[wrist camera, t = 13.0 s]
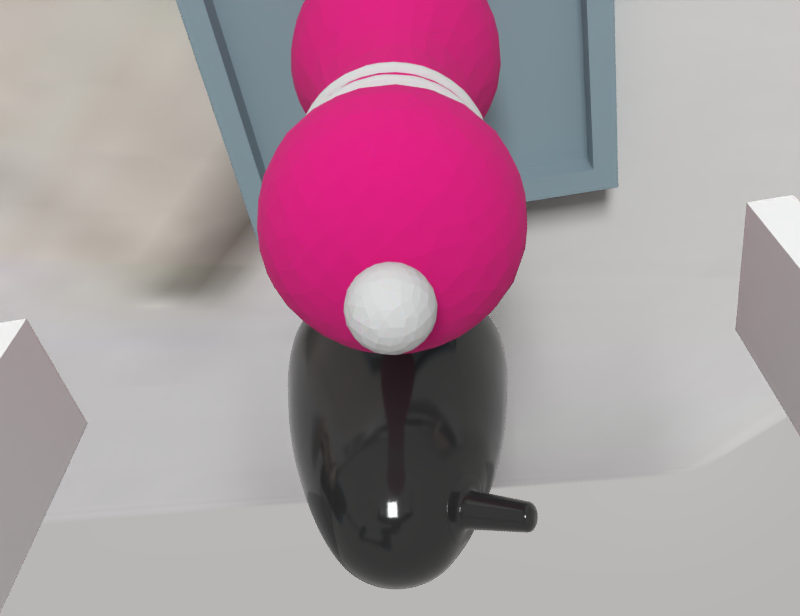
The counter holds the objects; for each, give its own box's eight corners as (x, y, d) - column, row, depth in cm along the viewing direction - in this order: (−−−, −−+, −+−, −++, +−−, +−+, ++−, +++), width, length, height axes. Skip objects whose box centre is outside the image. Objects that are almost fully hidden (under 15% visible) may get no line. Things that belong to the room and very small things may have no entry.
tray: (265, 223, 36) (258, 244, 34) (137, -169, 27) (120, -164, 25) (608, 166, 34) (618, 187, 33) (595, -272, 25) (608, -275, 24)
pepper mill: (524, 39, 30) (666, 360, 14) (384, 146, 33) (367, 520, 17) (411, -122, 27) (425, 52, 11) (266, 11, 30) (101, 311, 13)
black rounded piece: (521, 367, 41) (571, 626, 29) (341, 411, 43) (316, 671, 31) (471, 208, 36) (506, 444, 23) (267, 267, 38) (200, 514, 25)
